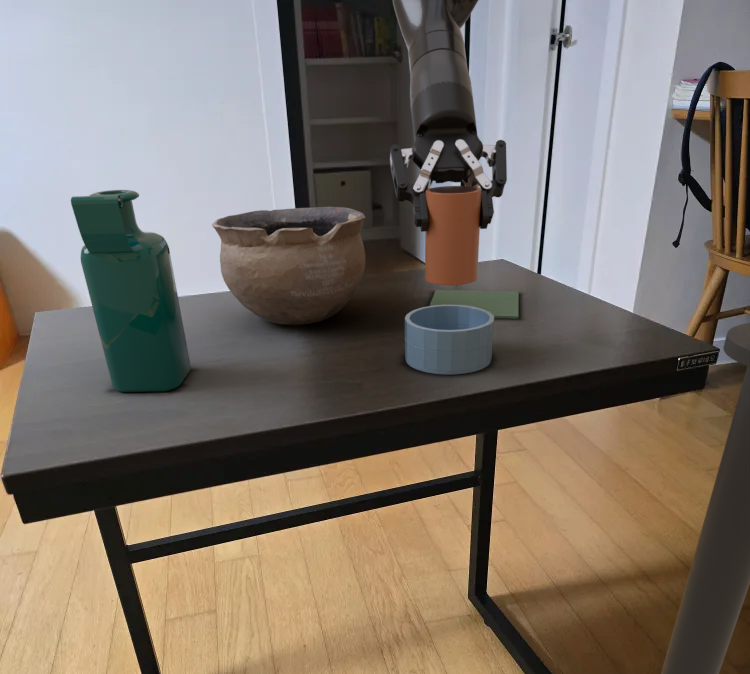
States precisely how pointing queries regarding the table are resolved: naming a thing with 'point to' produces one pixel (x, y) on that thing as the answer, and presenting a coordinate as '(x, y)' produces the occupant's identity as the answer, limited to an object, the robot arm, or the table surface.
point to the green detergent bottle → (131, 294)
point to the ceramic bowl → (292, 261)
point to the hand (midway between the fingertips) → (454, 225)
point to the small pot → (452, 235)
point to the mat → (481, 301)
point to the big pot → (449, 339)
